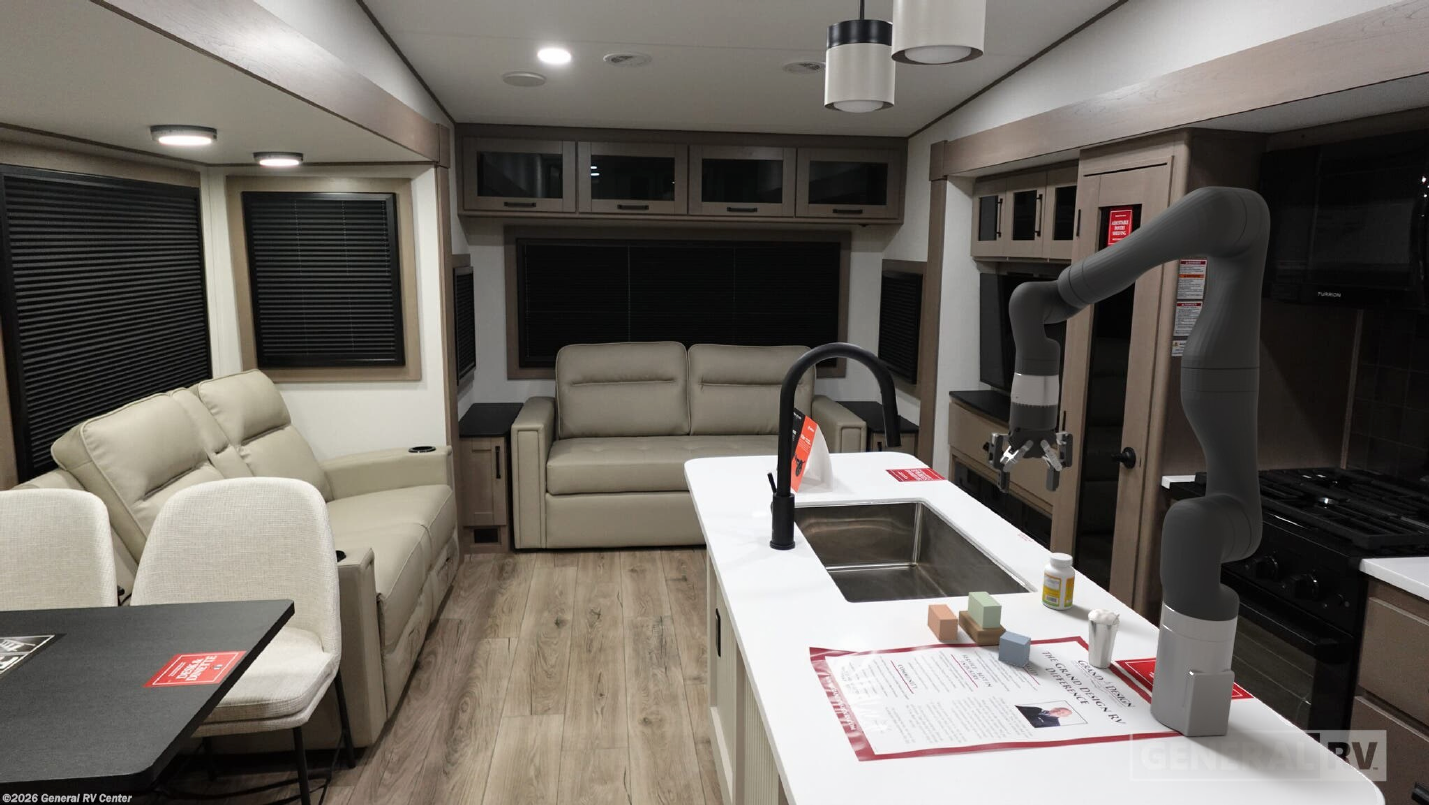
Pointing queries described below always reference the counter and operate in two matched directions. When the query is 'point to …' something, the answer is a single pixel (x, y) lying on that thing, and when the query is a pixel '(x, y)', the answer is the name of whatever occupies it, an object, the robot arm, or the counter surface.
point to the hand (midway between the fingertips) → (1027, 491)
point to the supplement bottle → (1058, 582)
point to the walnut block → (979, 630)
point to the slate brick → (1014, 649)
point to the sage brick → (984, 610)
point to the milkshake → (1102, 636)
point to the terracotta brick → (942, 622)
